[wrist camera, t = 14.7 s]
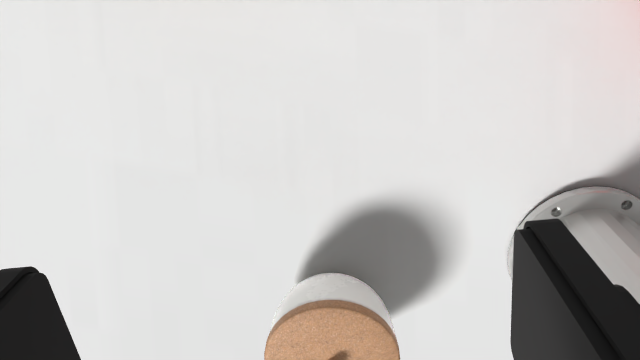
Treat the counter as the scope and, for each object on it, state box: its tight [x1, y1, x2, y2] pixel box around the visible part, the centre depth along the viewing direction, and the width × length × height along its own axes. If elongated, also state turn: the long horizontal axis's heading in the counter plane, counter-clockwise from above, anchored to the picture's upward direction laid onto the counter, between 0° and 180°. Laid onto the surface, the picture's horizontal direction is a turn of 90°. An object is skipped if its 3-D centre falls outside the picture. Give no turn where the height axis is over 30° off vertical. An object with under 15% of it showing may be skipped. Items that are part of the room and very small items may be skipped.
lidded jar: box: [264, 273, 400, 360], centre depth 43 cm, size 11×11×9 cm
